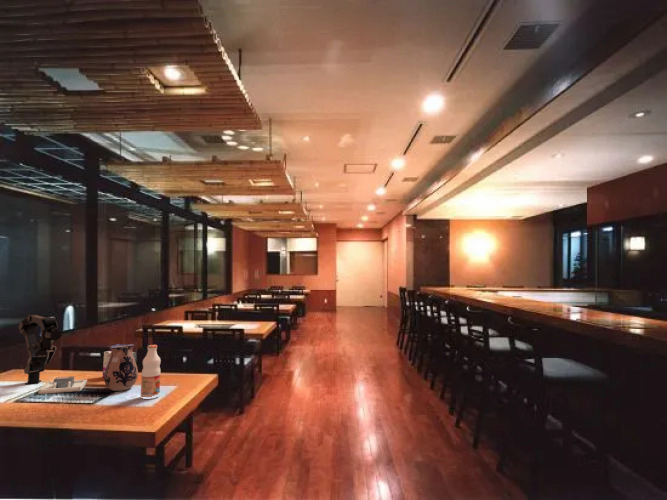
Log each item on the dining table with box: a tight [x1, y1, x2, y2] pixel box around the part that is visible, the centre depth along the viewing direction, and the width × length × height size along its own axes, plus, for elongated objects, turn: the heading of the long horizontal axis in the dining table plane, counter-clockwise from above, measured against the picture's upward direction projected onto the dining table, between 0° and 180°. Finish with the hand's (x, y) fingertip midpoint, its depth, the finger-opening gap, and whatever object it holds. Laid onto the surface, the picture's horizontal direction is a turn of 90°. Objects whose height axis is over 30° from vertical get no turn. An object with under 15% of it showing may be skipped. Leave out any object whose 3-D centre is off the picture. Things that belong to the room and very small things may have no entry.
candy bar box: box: [102, 350, 111, 378], centre depth 257 cm, size 11×5×16 cm, turn 68°
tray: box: [37, 379, 88, 395], centre depth 231 cm, size 17×20×4 cm
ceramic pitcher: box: [103, 343, 139, 392], centre depth 234 cm, size 18×21×25 cm
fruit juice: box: [140, 344, 162, 398], centre depth 219 cm, size 9×9×28 cm
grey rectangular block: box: [53, 375, 75, 388], centre depth 231 cm, size 5×9×5 cm, turn 110°
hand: (45, 365), depth 236 cm, fingers open, 9 cm apart
